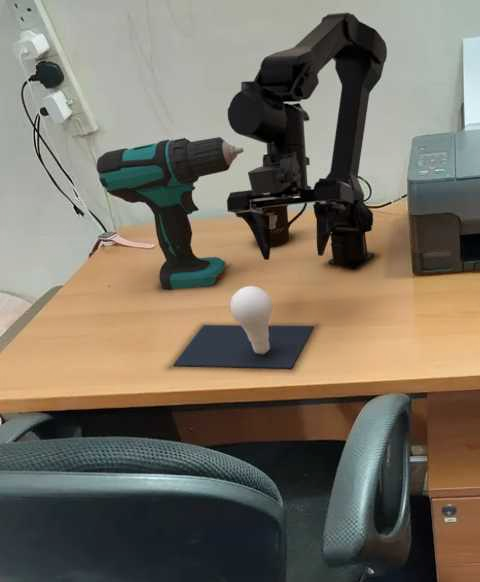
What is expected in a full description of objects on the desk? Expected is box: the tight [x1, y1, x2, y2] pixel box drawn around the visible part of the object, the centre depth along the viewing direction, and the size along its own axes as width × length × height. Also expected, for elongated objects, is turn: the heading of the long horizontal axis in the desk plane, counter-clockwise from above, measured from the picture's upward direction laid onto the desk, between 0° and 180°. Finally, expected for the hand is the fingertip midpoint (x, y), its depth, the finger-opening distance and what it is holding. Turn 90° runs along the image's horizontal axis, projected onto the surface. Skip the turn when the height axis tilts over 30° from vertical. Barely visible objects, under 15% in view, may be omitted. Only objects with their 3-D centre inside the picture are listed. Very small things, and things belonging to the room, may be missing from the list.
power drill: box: [96, 136, 244, 291], centre depth 120 cm, size 26×9×25 cm, turn 84°
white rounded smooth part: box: [229, 285, 273, 354], centre depth 99 cm, size 6×6×11 cm
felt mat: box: [173, 324, 314, 370], centre depth 105 cm, size 20×12×1 cm, turn 77°
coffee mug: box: [249, 188, 308, 248], centre depth 134 cm, size 12×9×10 cm
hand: (293, 257), depth 101 cm, fingers open, 9 cm apart
